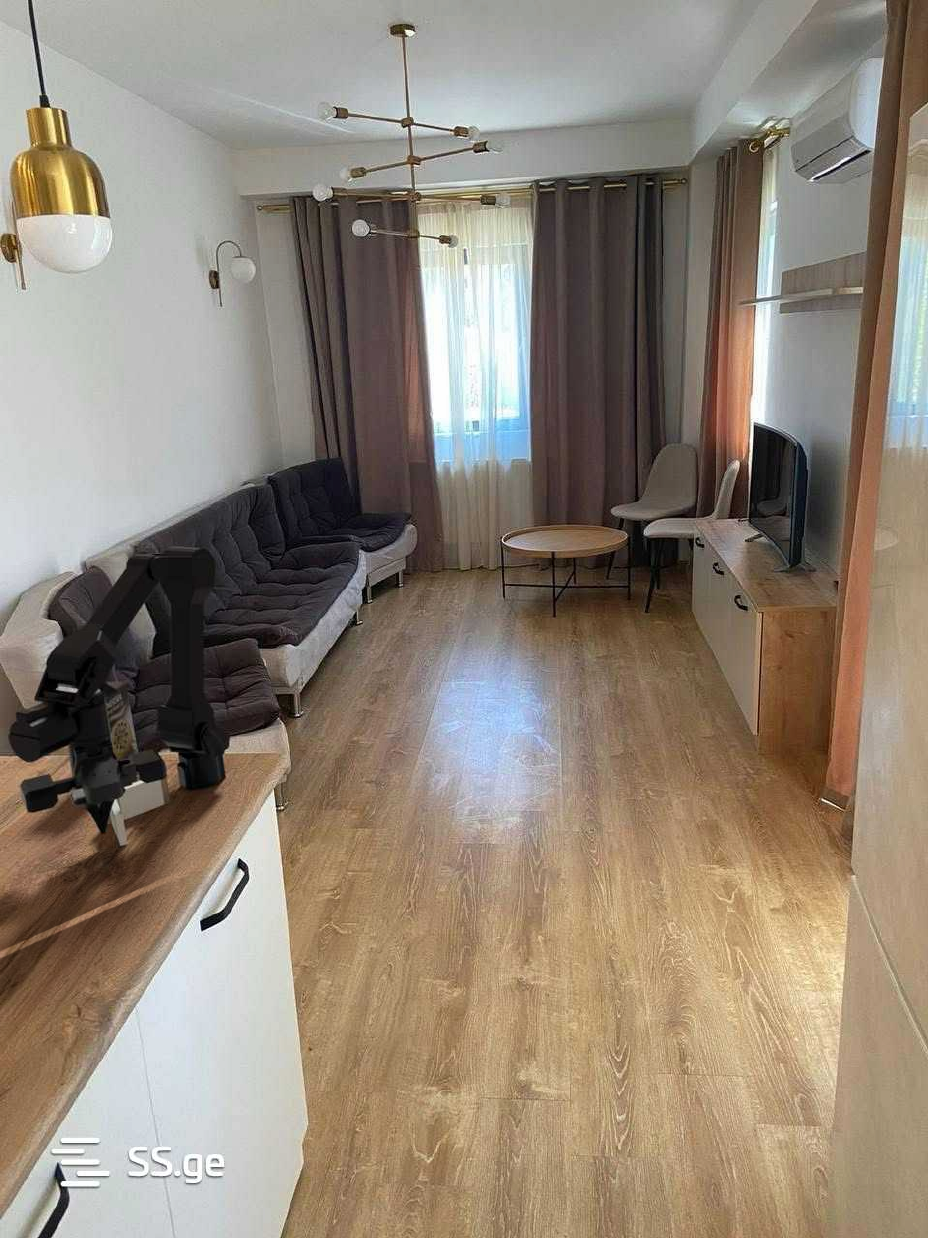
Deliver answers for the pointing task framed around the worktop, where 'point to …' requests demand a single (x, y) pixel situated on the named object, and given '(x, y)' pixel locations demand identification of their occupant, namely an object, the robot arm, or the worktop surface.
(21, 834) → the worktop surface
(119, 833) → the fence gate panel
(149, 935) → the worktop surface
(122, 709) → the coffee box
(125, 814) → the fence post and panel
